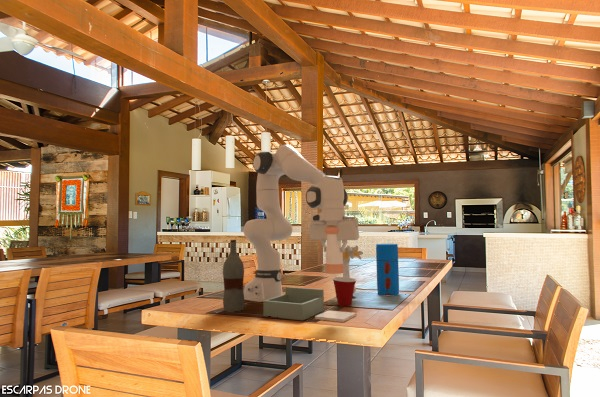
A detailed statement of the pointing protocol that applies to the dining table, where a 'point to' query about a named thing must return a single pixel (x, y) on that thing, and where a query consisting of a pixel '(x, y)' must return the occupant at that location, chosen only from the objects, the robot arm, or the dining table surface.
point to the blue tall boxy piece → (387, 269)
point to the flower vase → (346, 259)
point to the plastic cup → (344, 290)
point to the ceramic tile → (335, 316)
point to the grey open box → (295, 304)
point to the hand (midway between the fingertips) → (334, 251)
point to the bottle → (233, 281)
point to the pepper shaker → (333, 252)
